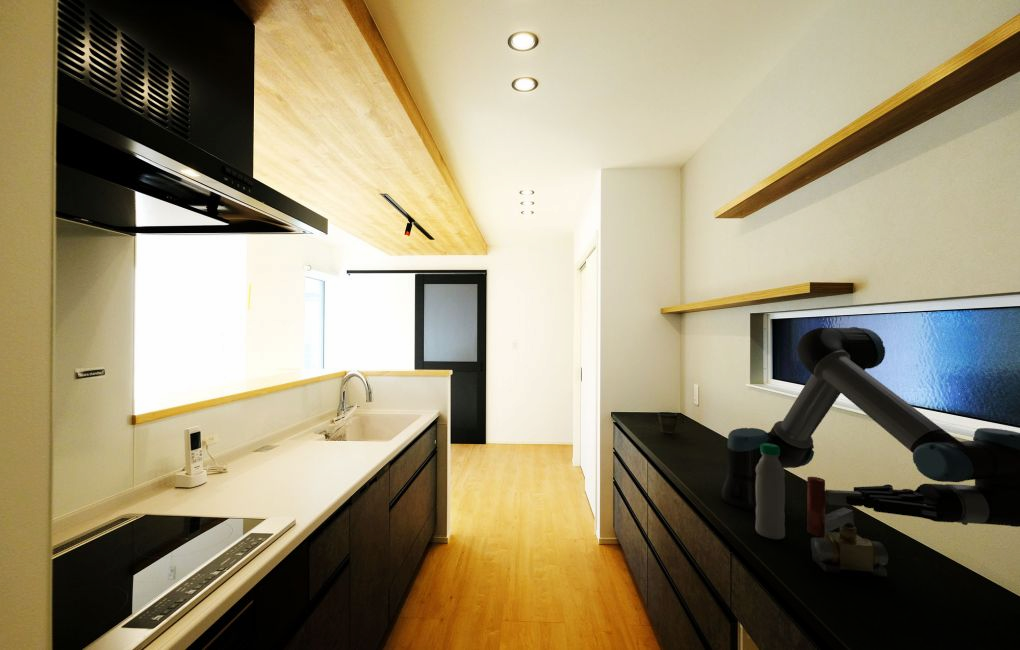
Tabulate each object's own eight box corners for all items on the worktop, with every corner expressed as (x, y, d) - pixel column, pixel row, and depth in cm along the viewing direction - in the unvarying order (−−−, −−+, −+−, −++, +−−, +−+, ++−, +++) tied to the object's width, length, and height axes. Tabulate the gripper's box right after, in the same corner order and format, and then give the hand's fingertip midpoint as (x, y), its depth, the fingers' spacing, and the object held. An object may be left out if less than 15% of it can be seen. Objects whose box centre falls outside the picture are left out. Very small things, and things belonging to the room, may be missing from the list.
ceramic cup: (655, 432, 232) (655, 414, 232) (662, 428, 240) (662, 411, 240) (679, 436, 224) (679, 417, 224) (685, 432, 231) (685, 414, 231)
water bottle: (778, 529, 121) (778, 442, 121) (789, 541, 114) (789, 449, 114) (751, 527, 123) (751, 440, 123) (760, 539, 116) (760, 447, 116)
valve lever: (842, 521, 104) (842, 465, 104) (858, 527, 101) (858, 469, 101) (804, 539, 95) (804, 478, 95) (820, 545, 93) (820, 482, 93)
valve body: (823, 572, 100) (823, 530, 100) (809, 558, 106) (809, 518, 106) (889, 577, 98) (889, 534, 98) (871, 563, 104) (871, 522, 104)
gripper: (978, 536, 83) (846, 528, 86) (923, 507, 96) (810, 502, 99) (978, 497, 83) (846, 491, 86) (923, 474, 96) (810, 469, 99)
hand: (827, 497), depth 93 cm, fingers closed
